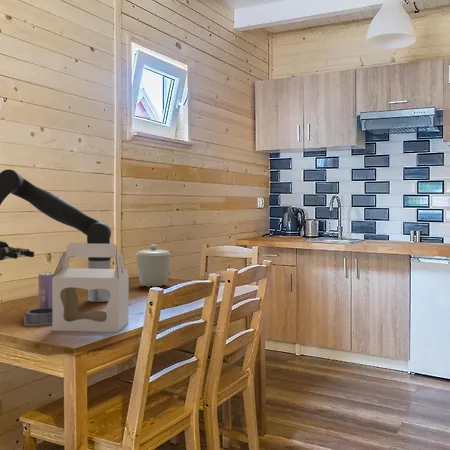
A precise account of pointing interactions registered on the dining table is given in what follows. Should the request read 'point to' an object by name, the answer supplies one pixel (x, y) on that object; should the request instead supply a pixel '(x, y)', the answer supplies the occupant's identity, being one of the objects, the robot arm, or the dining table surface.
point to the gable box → (89, 279)
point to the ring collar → (38, 317)
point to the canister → (153, 266)
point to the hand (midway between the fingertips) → (25, 255)
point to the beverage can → (45, 290)
